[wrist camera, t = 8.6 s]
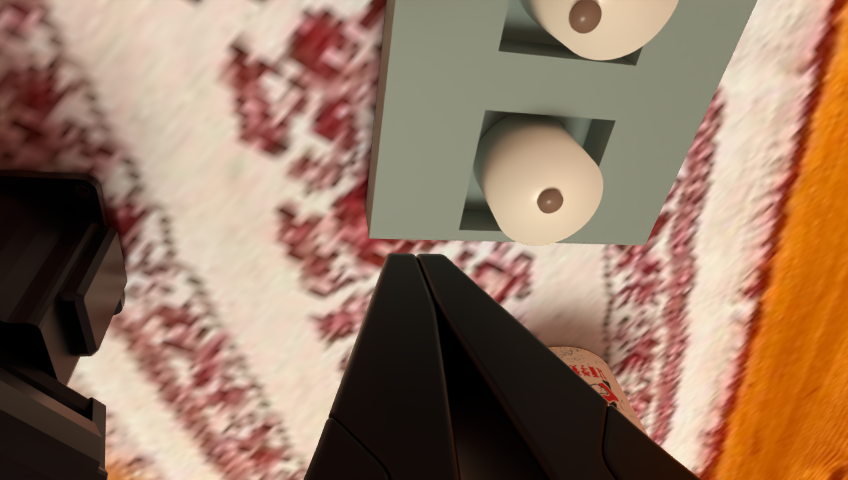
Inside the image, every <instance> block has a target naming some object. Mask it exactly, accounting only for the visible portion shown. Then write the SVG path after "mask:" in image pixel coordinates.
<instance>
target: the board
mask: <svg viewBox="0 0 848 480" xmlns="http://www.w3.org/2000/svg"><path fill="white" fill-rule="evenodd" d="M756 2H757V0H679V1H678V4H677V6H676V8H675V10H674V11H673V13H672V15H671V17H670V18H669V20H668V21H667V22H666V24H665V25H664V26H663V28H662V29H661V30H660V31H659V32H658V33H657V34H656V35H655V36H654V37H653V38H652V39H651V40H650V41H649V42H647V43H646V44H645V45H644V46H642V47H641V48H639V49H637V50H636V51H634V52H632V53H630V54H628V55H625V56H622V57H620V58H616V59H611V60H592V59H587V58H585V57H582V56H579V55H578V54H576V53H574V52H573V51H571V50H570V49H569V48H567V47H566V46H565V45H564V44H562V43H561V42H560V41H559V40H557V39H556V38H555V37H554V36H552V35H551V34H550V33H548V32H547V31H546V30H545V29H543V28H542V27H541V26H540V25H538V24H537V23H536V22H535V21H533V20H532V19H531V18H530V17H529V16H528V14H527V13H526V11H525V10H524V8H523V6H522V4H521V2H520V0H387V1H386V10H385V20H384V30H383V40H382V50H381V60H380V69H379V79H378V89H377V99H376V109H375V119H374V128H373V138H372V148H371V158H370V168H369V178H368V187H367V197H366V207H365V213H366V220H367V226H368V233H369V238H379V239H419V240H459V241H499V242H516V241H514V240H512V239H511V238H509V237H508V236H506V235H505V234H504V233H503V231H502V230H501V229H500V227H499V225H498V223H497V221H496V219H495V217H494V215H493V213H492V211H491V209H490V207H489V205H488V203H487V201H486V199H485V197H484V195H483V193H482V191H481V189H480V187H479V185H478V183H477V181H476V179H475V175H474V171H473V163H474V159H475V154H476V150H477V146H478V143H479V142H480V140H481V138H482V137H483V136H484V134H485V133H486V132H487V131H488V130H489V129H490V128H491V127H492V126H493V125H494V124H496V123H497V122H499V121H500V120H502V119H503V118H505V117H507V116H510V115H513V114H516V113H529V114H542V115H549V116H551V117H553V118H554V119H556V120H557V121H558V122H559V123H560V124H561V125H562V126H563V127H564V128H565V129H566V130H567V132H568V133H569V134H570V135H571V136H572V137H573V138H574V139H575V141H576V142H577V143H578V144H579V145H580V146H581V147H582V148H583V149H584V151H585V152H586V153H587V154H588V155H589V156H590V157H591V158H592V160H593V161H594V162H595V163H596V164H597V166H598V167H599V169H600V171H601V174H602V178H603V193H602V198H601V201H600V203H599V206H598V208H597V210H596V211H595V213H594V215H593V216H592V217H591V218H590V220H589V221H588V222H587V223H586V224H585V225H584V226H583V227H582V228H581V229H579V230H578V231H577V232H575V233H574V234H572V235H571V236H569V237H567V238H565V239H563V240H561V241H558V242H555V243H580V244H620V245H645V244H646V242H647V239H648V237H649V235H650V233H651V231H652V229H653V226H654V224H655V222H656V220H657V218H658V216H659V213H660V211H661V209H662V207H663V205H664V202H665V200H666V198H667V196H668V194H669V192H670V189H671V187H672V185H673V183H674V181H675V179H676V176H677V174H678V172H679V170H680V168H681V165H682V163H683V161H684V159H685V157H686V155H687V152H688V150H689V148H690V146H691V144H692V142H693V139H694V137H695V135H696V133H697V131H698V128H699V126H700V124H701V122H702V120H703V118H704V115H705V113H706V111H707V109H708V107H709V105H710V102H711V100H712V98H713V96H714V94H715V91H716V89H717V87H718V85H719V83H720V81H721V78H722V76H723V74H724V72H725V70H726V68H727V65H728V63H729V61H730V59H731V57H732V54H733V52H734V50H735V48H736V46H737V44H738V41H739V39H740V37H741V35H742V33H743V31H744V28H745V26H746V24H747V22H748V20H749V17H750V15H751V13H752V11H753V9H754V7H755V4H756Z"/></svg>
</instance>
